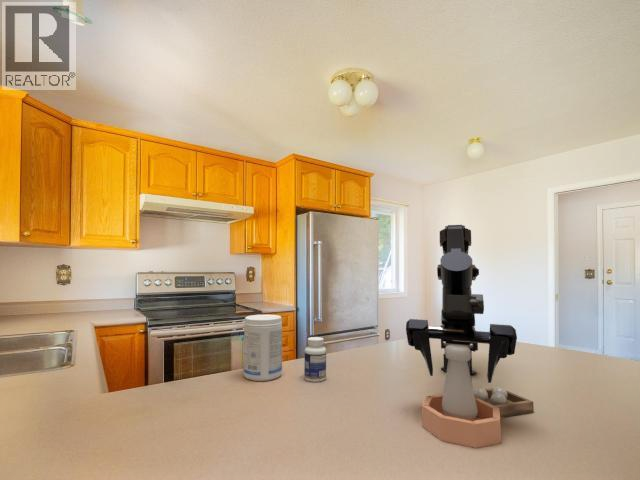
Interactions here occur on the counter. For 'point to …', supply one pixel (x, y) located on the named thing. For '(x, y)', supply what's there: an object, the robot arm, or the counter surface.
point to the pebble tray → (512, 405)
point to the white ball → (500, 391)
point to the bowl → (462, 424)
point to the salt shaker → (458, 384)
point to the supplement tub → (262, 347)
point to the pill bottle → (315, 360)
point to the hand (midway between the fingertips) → (459, 378)
